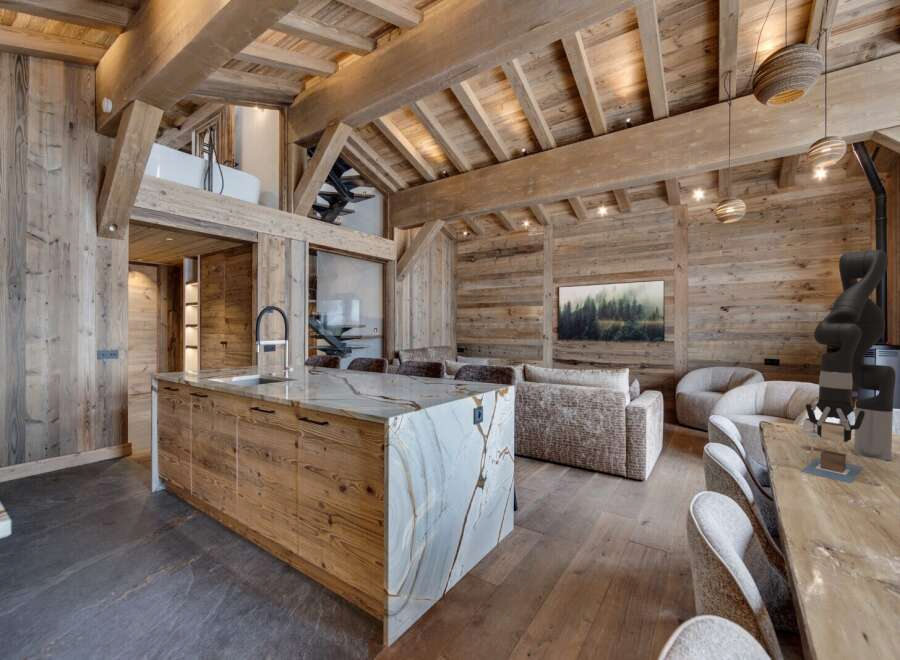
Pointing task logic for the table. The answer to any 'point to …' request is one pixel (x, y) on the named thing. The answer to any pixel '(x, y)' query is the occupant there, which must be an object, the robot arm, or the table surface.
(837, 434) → the maple block
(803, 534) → the table surface
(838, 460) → the walnut block
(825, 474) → the board
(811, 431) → the wineglass
